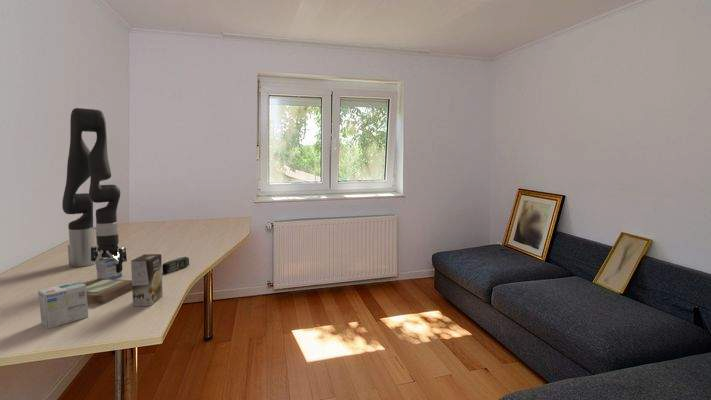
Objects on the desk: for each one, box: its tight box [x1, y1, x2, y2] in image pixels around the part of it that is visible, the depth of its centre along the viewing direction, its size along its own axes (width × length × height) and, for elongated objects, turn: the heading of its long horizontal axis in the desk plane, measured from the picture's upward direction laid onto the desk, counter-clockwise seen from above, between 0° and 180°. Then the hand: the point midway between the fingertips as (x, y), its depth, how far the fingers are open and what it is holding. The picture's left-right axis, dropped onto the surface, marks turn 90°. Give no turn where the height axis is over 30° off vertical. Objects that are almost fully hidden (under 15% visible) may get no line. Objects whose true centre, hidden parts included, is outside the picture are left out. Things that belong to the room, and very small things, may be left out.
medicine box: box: [95, 255, 123, 279], centre depth 152 cm, size 8×4×9 cm, turn 168°
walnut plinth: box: [84, 278, 132, 305], centre depth 136 cm, size 16×16×3 cm
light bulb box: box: [37, 280, 89, 330], centre depth 114 cm, size 11×7×11 cm, turn 145°
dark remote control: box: [162, 256, 190, 275], centre depth 167 cm, size 5×3×15 cm
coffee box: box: [130, 253, 164, 307], centre depth 130 cm, size 9×6×16 cm
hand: (109, 271), depth 152 cm, fingers open, 8 cm apart
